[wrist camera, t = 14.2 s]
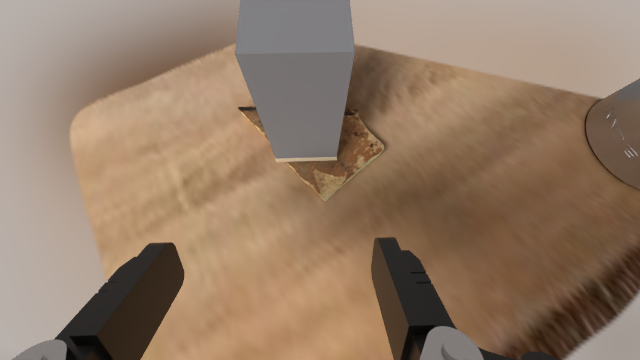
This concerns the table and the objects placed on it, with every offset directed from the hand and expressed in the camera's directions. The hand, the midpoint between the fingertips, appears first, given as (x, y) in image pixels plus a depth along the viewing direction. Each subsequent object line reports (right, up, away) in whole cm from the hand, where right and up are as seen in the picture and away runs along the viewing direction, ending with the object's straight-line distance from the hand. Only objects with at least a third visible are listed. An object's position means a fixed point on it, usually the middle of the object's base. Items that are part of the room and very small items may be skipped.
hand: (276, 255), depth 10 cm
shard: (+1, +5, +11) cm, 12 cm away
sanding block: (+1, +7, +9) cm, 12 cm away
